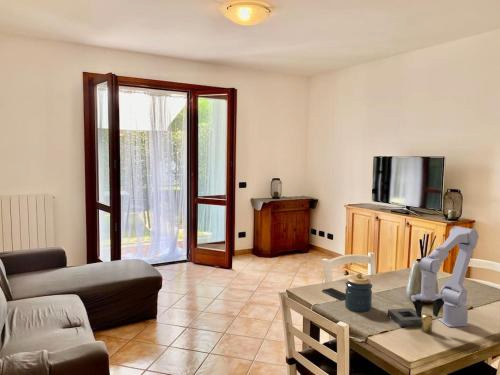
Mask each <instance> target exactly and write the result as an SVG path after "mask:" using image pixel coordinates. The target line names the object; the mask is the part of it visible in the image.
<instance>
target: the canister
mask: <svg viewBox="0 0 500 375" xmlns="http://www.w3.org/2000/svg"><path fill="white" fill-rule="evenodd" d="M346 280H347V281H346V282H345V286H346V287H345V294H346V295H345V299H344V305H345V308H346V309H348V310H349V311H353V312H357V313H366V312H370V311H371V310H372V307H373V306H372V305H373V303H372V302H373V300H372V298H373V291H372V288H373V284H372V283H371V282H372V281H371V279H370V278H368V277H367V276H365V275H362V273H361V272H357V273H356V274H352V275H350V276H348V277H347V278H346Z"/></svg>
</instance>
